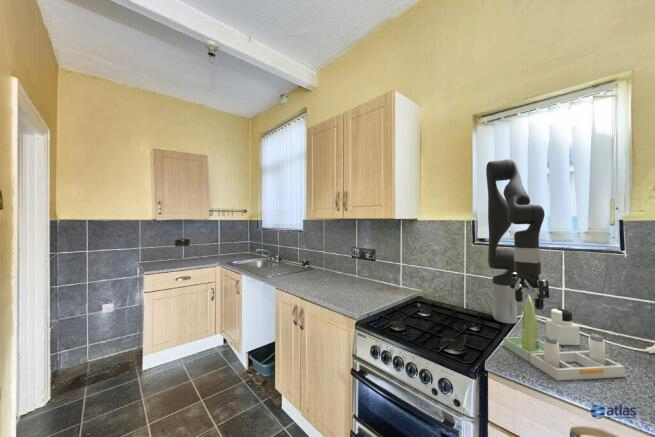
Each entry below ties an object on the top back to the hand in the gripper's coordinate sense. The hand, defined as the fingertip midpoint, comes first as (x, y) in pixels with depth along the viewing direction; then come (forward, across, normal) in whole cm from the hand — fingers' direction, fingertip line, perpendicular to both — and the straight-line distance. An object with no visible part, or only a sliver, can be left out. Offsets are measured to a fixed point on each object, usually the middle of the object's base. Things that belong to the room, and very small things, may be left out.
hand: (528, 305), depth 91 cm
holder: (+17, +11, +5) cm, 21 cm away
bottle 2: (+17, +11, +12) cm, 24 cm away
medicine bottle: (+17, -7, +19) cm, 27 cm away
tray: (+17, 0, 0) cm, 17 cm away
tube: (+16, 0, 0) cm, 16 cm away
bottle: (+17, +11, -2) cm, 20 cm away
